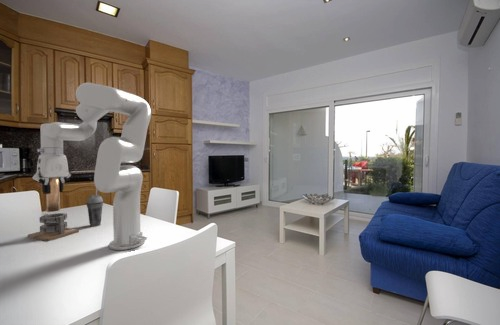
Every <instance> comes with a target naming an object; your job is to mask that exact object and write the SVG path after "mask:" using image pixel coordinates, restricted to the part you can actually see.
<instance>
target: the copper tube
mask: <svg viewBox="0 0 500 325" xmlns="http://www.w3.org/2000/svg"><path fill="white" fill-rule="evenodd" d="M48 185H49V186H50V193H49V194H45V195H46V212H48V213H51V212H54V213H55V212H58V211H60V210H61V194H60V193H61V192H60V181H59V177H54V178H49V181H48Z"/></svg>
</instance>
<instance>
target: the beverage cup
mask: <svg viewBox="0 0 500 325" xmlns="http://www.w3.org/2000/svg"><path fill="white" fill-rule="evenodd" d="M95 188H96V187H95ZM85 205H86V207H87V215H88V223H89V227H91V228H93V227H99V226H101V225H102V224H101V223H102V214H103V205H104V198H103V197H102V196H101V195H99V194H98V189H97V188H96V189H95V194H92V195H89V197H88V198H87V200H86V203H85Z"/></svg>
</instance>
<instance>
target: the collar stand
mask: <svg viewBox="0 0 500 325" xmlns="http://www.w3.org/2000/svg"><path fill="white" fill-rule="evenodd" d="M67 219H68V214H67V213H65V212H58V213H55V212H54V213H50V214H48V213H47V214H43V215H42V216H40V217H39V223H41V225H40V226H39V231H37V232H33V233H29V234H27V238H30V237H31V239H36V240H42V241H46V242H51V241H53V240H57V239H61V238H63V237H64V238H65V237H66V236H67V237H68V236H70V235H74V234H77V233H79V232H80V230H79V229H75V228H70V227H68V222H67V221H66V220H67Z"/></svg>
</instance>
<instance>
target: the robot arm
mask: <svg viewBox="0 0 500 325" xmlns="http://www.w3.org/2000/svg"><path fill="white" fill-rule="evenodd" d="M75 98H76V100H77V102H79V104H78V105H76V108H75V112H76V115H77V116H78V117H79V119H80V120H82V122H81V123H79V124H77V123H69V122H61V121H60V122H59V121H54V122H51V123H42V124H41V125H40V147H39V148H37V153H40V154H39V155H38V158H37V159H38V160H37V163H36V164H37V165H36V172H35V173H34V174H33V176H32V180H34V181H37V183H39V184H40V185H42V186H41V187H42V188H41V189H42V190H41V191H42V194H44V195H46V194H49V193H50V186H49V185H48V181H49V178H54V177H59V181H60V193H63V191H64V184H65V182H66V181H67V179H69V178H70V177H71V176H72V174H71V173H70V172H69V165H68V163H69V162H68V159H67V156H66V155H65V154H64V141H70V142H71V141H72V142H74V141H75V142H80V141H85V140H86V139H89V137H91V136H92V135H93V134H94V133H95V132H96V130H97V127H98V120H100V119H101V118H102V117H104V116H105V115H106V114H108V113H109V112H111V113H112V112H113V113H117V114H120V115H127V116H129V117H128V118H127V119H126V121H125V122H124V124H123V126H122V130H121V136H120V137H119V136H118V137H117V136H111V137H107V138H105V139H104V140H102V141H101V143H100V145H99V147H98V150H97V154H96V155H97V157H96V161H95V169H94V175H93V183H94V187H95V188H97V191H99V192H101V193H104V194H105V193H107V194H108V193H109V194H110V193H115V195H114V197H113V200H112V201H113V202H112V206H113V207H112V208H113V209H112V210H113V211H112V212H113V213H112V214H113V215H112V217H113V219H112V220H113V222H112V223H113V240H112V241H110V242H109V244H108V246H109V249H110V250H115V251H125V250H130V249H135V248H138V247H140V246H142V245H143V244H144V243H145V242H146V240H147V239H148V237H147V236H144V235H143V231H141V191H142V186H143V182H144V181H143V180H144V179H143V176H144V175H143V173H142V170H141V169H140V168H138V167H137V166H135V165H132V164H131V163H133V164H134V163H137V162H140V161H141V160H142V158H143V155H144V151H145V146H146V139H147V132H148V129H149V124H150V122H151V118H152V109H151V107H150V105H149V102H147V100H145V99H144V98H142V97H141V96H139V95H136V94H134V93H131V92H128V91H125V90H121V89H119V88H116V87H112V86H109V85H103V84H99V83H93V82H84V83H80V85H79V86H77V88H76V91H75ZM129 163H130V164H131V165H127V164H129ZM121 164H126V165H121Z"/></svg>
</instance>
